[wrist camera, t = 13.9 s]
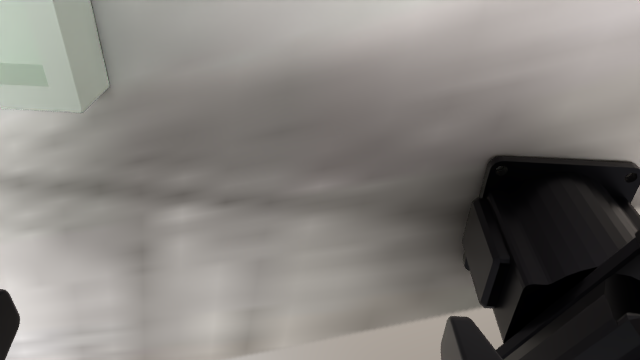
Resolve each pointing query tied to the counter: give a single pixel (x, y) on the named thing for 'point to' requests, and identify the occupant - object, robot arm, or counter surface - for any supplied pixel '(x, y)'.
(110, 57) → the counter surface
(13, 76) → the tray
